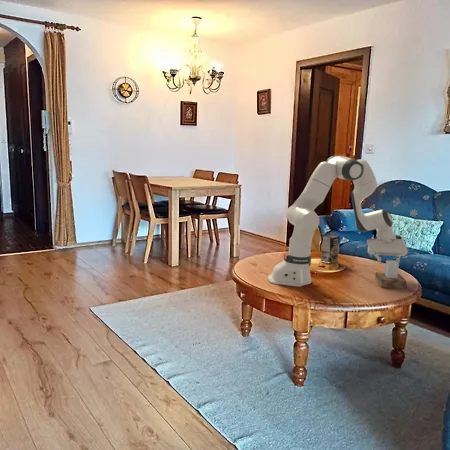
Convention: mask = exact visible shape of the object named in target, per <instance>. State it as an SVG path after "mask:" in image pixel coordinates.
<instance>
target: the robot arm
mask: <svg viewBox="0 0 450 450" xmlns="http://www.w3.org/2000/svg"><path fill="white" fill-rule="evenodd" d="M337 178H338V179H341V180H346V181H350V182H351V181H352V182H353V186H354V188H353V190H352V191H351V203H352V209H353V214H354V218H355V220H354V222H355V228H356V230H358V231H359V232H361V233H366V232H370V231H374V230H375V231H376V238H371V237H370V238H368V239H367V240H366V245H367V253H368V255H373V256H374V257H375V258H376V259H377V262H380V263H381V262H382V257H380V256H391V257H392V256H395V257H397V258H395V261H397V262H398V263H399V264H400V262H401V261H400V259H401V257H406V255H407V254H408V247H407V244H406V242H405V241H404V237H403V235H397V234H395V233H394V232H393V224H394V223H393V217H392V214H391V213H390V211H388V210H386V209H378V210H374V211H371V212H367V213H364V212H363V210H362V205H361V202H362V201H364V200H365V199H366V198H368V197H369V196H371V195H372V194H373V193H374V192H375V191H376V189H377V185H378V184H377V179H376V176H375V173H374V171H373V169H372V167H371V165H370V164H369V163H368V161H367V160H365V159H363V158H361V159H353V158H350V157H348V156H343V155H339V154H338V155H337V154H336V155H335V154H334V155H332V156H330V157H328V158H327V160H326V161H322V162H320V163H318V165H317V166H316V168H315V169H314V171H313V172H312V174H311V175H310V177H309V179H308V182H307V183H306V186H305V187H304V189H303V191H302V192H301V194H300V195H299V197H298V198H297V199H296V200H295V201H294V202H293V204H292V205H291V206H289V207H288V208H287V210H286V213H285V214H286V218H287V220H288V222H289V224H291V225H292V226H294V227H293V232H292V234H291V237H290V238H289V244H288V252H286V251H285V252H283V257H284V259H283V260H282V261H280V262H279V263H277V264H276V265H275V266H274V267H273V270H272V272H271V273H269V274H268V276H267V281H268V282H269V283H271V284H274V285H284V286H292V287H298V288H300V287H303V286H307V285H309V284H311V283H312V278H311V264H312V255H311V251H312V243H313V238H314V235H315V232H316V229H317V228H319V226H320V216H318V214H317V213H316V212H315V209H316V208H317V207H318V206H319V205H321V204H322V203H323V202H324V201H325V199H326V197H327V195H328V192H329V191H330V190H331V187H332V185H333V183H334V181H335V180H336V179H337Z"/></svg>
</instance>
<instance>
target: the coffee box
mask: <svg viewBox="0 0 450 450" xmlns="http://www.w3.org/2000/svg"><path fill="white" fill-rule="evenodd" d="M340 243H341V236H340V235H336V234H328V235H323V236H322V246H321V255H320V262H321V261H325V262H336V263H338V262H339V255H340V254H339V253H340Z"/></svg>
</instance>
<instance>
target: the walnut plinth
mask: <svg viewBox="0 0 450 450" xmlns="http://www.w3.org/2000/svg"><path fill="white" fill-rule="evenodd" d="M374 280H375V281H376V283H377V284H378V285H379V286H380V288H388V287H389V289H390V288H391V289H404V288H405V289H406V285H407V280H406V279H405V278H404V277H403V276H402V275H401V274H400V273H398V275H397V278H387V277H386V276H385V272H375V279H374Z"/></svg>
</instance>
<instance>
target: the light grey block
mask: <svg viewBox="0 0 450 450" xmlns="http://www.w3.org/2000/svg"><path fill="white" fill-rule="evenodd" d="M399 266H400V262H399V263H398V262H397V261H396V260H392V259H391V260H390V259H386V260H385V268H384V273H385V276H386V277H387V278H397V275H398V274H399V268H400V267H399Z"/></svg>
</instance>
